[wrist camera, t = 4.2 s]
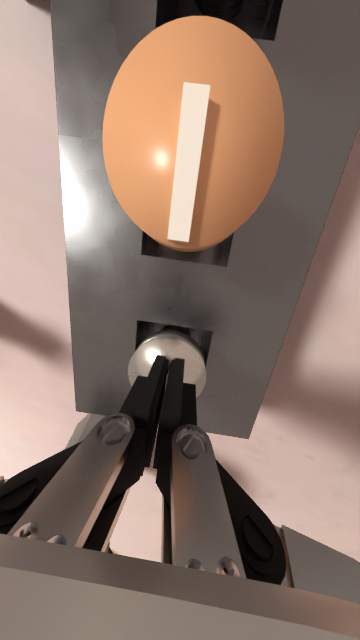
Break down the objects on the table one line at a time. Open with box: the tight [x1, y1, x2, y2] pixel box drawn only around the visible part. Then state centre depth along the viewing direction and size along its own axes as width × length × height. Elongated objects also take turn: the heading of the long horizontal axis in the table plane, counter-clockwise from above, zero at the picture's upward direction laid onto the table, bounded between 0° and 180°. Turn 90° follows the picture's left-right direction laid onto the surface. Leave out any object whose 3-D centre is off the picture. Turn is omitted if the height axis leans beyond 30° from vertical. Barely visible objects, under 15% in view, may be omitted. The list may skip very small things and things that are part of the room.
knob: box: [128, 325, 206, 398], centre depth 12 cm, size 5×5×6 cm
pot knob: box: [102, 16, 284, 252], centre depth 7 cm, size 5×5×6 cm
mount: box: [50, 0, 360, 439], centre depth 12 cm, size 30×14×6 cm, turn 172°
